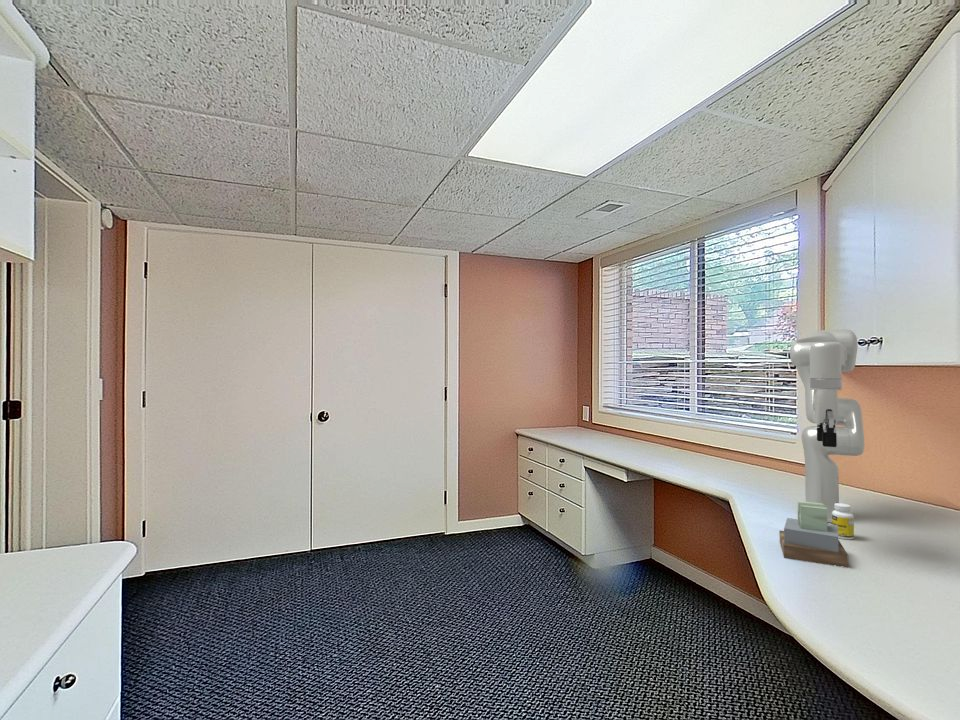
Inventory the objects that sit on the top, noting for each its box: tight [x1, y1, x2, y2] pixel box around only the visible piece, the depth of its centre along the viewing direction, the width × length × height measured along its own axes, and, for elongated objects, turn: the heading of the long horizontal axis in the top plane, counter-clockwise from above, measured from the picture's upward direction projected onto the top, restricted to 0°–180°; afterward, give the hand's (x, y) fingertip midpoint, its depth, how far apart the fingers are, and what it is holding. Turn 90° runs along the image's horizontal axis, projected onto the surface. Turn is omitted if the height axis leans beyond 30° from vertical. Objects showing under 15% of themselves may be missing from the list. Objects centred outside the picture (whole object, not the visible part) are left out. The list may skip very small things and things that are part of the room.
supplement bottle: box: [831, 502, 855, 541], centre depth 150 cm, size 5×5×10 cm
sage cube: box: [797, 500, 828, 531], centre depth 136 cm, size 6×6×6 cm
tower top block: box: [783, 517, 839, 553], centre depth 136 cm, size 12×12×4 cm
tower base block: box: [779, 529, 849, 568], centre depth 136 cm, size 14×14×4 cm
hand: (826, 443), depth 142 cm, fingers open, 9 cm apart
